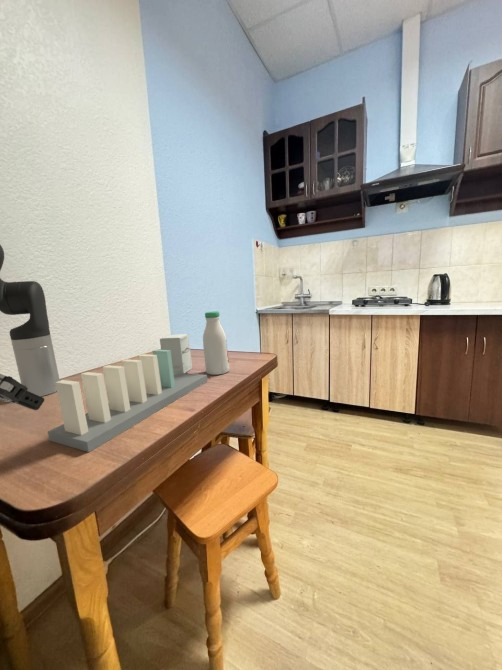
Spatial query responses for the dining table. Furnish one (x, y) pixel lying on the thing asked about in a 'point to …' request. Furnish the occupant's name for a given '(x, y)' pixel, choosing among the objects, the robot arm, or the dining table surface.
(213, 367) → the milk bottle
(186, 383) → the board
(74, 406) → the domino
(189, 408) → the dining table surface
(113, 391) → the domino
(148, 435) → the dining table surface
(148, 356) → the domino
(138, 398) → the domino
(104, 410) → the domino
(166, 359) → the domino
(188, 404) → the dining table surface
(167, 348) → the supplement box
